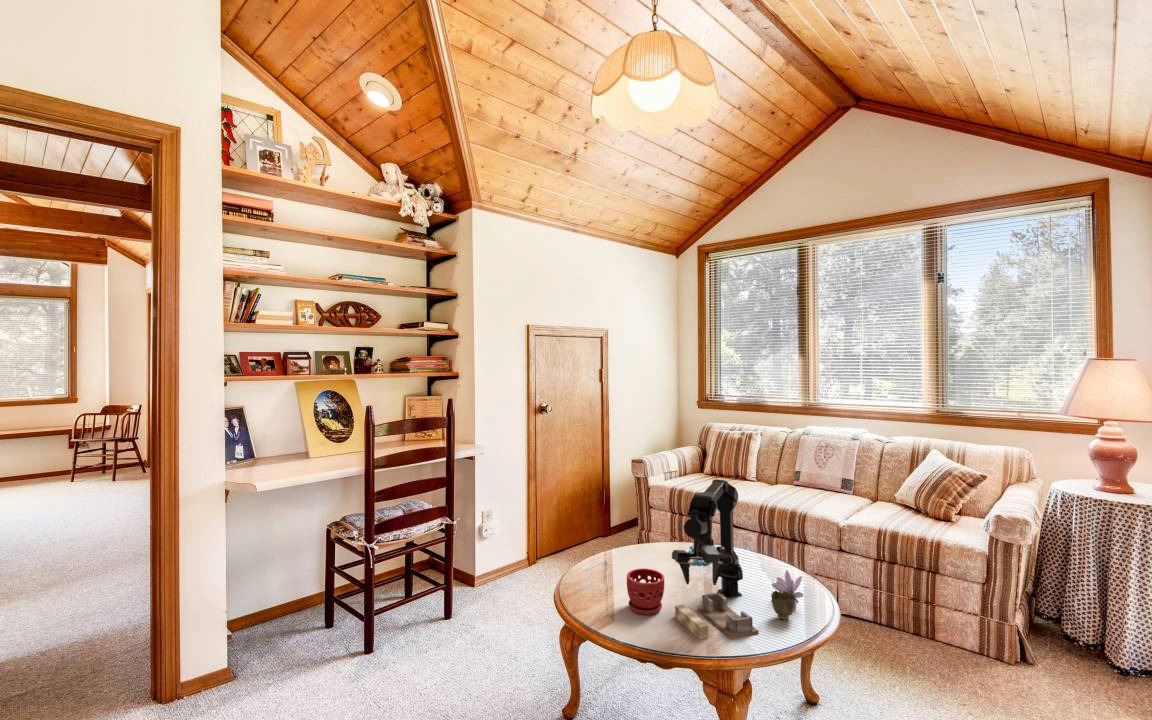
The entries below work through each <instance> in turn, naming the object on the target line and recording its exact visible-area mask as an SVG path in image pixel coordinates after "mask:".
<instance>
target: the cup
mask: <svg viewBox="0 0 1152 720" xmlns="http://www.w3.org/2000/svg"><path fill="white" fill-rule="evenodd" d="M770 597H771V600H772V603H771V605H772V609H773V611H774V613H776V614H777V619H779V620H780V621H788V620H789V619H790V616H791V615H792V614H793V613H794V612H793V609H794V601H795V596H794V594H793V595H792V594H791V593H790V594H789V593H788V592H785V591H784V592H783V593H782V592H781V591H777V590H774V591H772V592H771V593H770Z"/></svg>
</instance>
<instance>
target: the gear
mask: <svg viewBox="0 0 1152 720" xmlns="http://www.w3.org/2000/svg"><path fill="white" fill-rule="evenodd" d="M692 549H693V545H690V546H689V550H688V551H687V552H688V553H693V552H692ZM697 557H698V556H697ZM698 561H699V562H698ZM702 561H703V560H693V559H692V562H693V563H694V564H696V563H698V566H702V565H707V564H708V563H705V562H704V561H703V564H702Z"/></svg>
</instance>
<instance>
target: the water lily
mask: <svg viewBox="0 0 1152 720" xmlns="http://www.w3.org/2000/svg"><path fill="white" fill-rule="evenodd" d="M802 577H803V576H801V575H800V576H798V577H797V578H796V580H795V581H794V580H793V579H792V577H791V574H790V572H789V571H788V570H785V573H784V579H783V578H782V577H780V576H778V577H776V582H773V583H771V587H772V588H773V590H775V591H778V592H779V591H781V593H783V592H784V591H785V592H788V593H789V594H790V593H791V594H792V595H793V594H794V596H795V601H794V609H793V612H792V613H796V612H797V611H796V610H797V604H798V603H799V600H798V599H800V598H803V597H804V594H803V592H801V591H797V590H798V588H799V587H800V585H801V582H802V579H803V578H802ZM771 602H772V599H771V600H770V603H771Z"/></svg>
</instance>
